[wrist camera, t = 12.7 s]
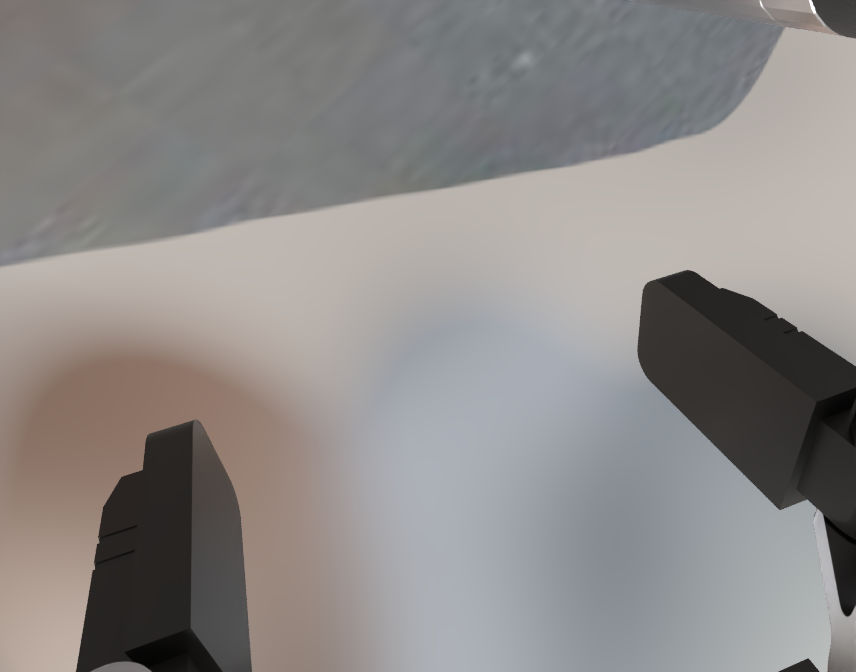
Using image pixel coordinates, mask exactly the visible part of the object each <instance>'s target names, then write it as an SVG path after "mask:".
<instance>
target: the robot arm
mask: <svg viewBox="0 0 856 672" xmlns="http://www.w3.org/2000/svg"><path fill="white" fill-rule="evenodd" d="M628 1H634V2H640V3H646V4H652V5H658V6H662V7H668V8H674V9H680V10H686V11H692V12H698V13H704V14H711V15H717V16H723V17H729V18H735V19H741V20H747V21H753V22H759V23H765V24H772V25H778V26H784V27H790V28H796V29H804V30H811V31H816V32H823V33H828V34H834V35H840V36H846V37H851V38H856V0H628ZM638 358H639V362H640V365H641V367H642V369H643V372H644V373H645V375H646V376H647V378H648V379H649V380H650V381H651V382H652V383H653V384H654V385H655V386H656V387H657V388H658V389H659V390H660V391H661V392H662V393H663V394H664V395H665V396H666V397H667V398H668V399H669V400H670V401H671V402H672V403H673V404H674V405H675V406H676V407H677V408H678V409H679V410H680V411H681V412H682V413H683V414H684V415H685V416H686V417H687V418H688V419H689V420H690V421H691V422H692V423H693V424H694V425H695V426H696V427H697V428H698V429H699V430H700V431H701V432H702V433H703V434H704V435H705V436H706V437H707V438H708V439H709V440H710V441H711V442H712V443H713V444H714V445H715V446H716V447H717V448H718V449H719V450H720V451H721V452H722V453H723V454H724V455H725V456H726V457H727V458H728V459H729V460H730V461H731V462H732V463H733V464H734V465H735V466H736V467H737V468H738V469H739V470H740V471H741V472H742V473H743V474H744V475H745V476H746V477H747V478H748V479H749V480H750V481H751V482H752V483H753V484H754V485H755V486H756V487H757V488H758V489H759V490H760V491H761V492H762V493H763V494H764V495H765V496H766V497H767V498H768V499H769V500H770V501H771V502H772V503H773V504H774V505H775V506H776V507H777V508H778V509H779V510H781V509H784V508H787V507H789V506H791V505H794V504H796V503H799V502H802V501H804V500H807V499H808V500H809V501H810V502H811V503H812V504H813V505H814V506H815V507H816V508H817V509H816V512H815V514H814V519H813V522H814V530H815V536H816V542H817V548H818V554H819V560H820V566H821V572H822V577H823V583H824V589H825V595H826V601H827V607H828V613H829V619H830V624H831V646H830V652H829V659H828V672H856V366H854V365H853V364H851V363H850V362H848V361H846V360H845V359H844V358H842V357H841V356H839V355H838V354H836V353H834V352H833V351H831V350H830V349H828V348H827V347H825V346H824V345H822V344H821V343H819V342H818V341H816V340H815V339H813V338H812V337H810V336H809V335H807V334H806V333H804V332H803V331H801V332H798V330H797V327H795V326H793V325H792V324H791V323H789V322H788V321H786V320H785V319H783V318H780V319H779V318H778V317H777V314H776V313H774V312H773V311H771V310H770V309H768V308H767V307H765V306H764V305H762V304H760V303H759V302H758V301H756V300H754V299H753V298H750V297H747V296H744V295H741V294H738V293H736V292H733V291H730V290H727V289H724V288H721V289H719V288H717V287H716V286H714V285H713V284H711V283H710V282H709V281H707V280H706V279H704V278H703V277H701V276H700V275H698V274H697V273H695V272H693V271H690V270H686V271H682V272H679V273H675V274H672V275H669V276H666V277H662V278H659V279H656V280H653V281H650V282H648V283H647V284H646V285H645V287H644V289H643V295H642V305H641V315H640V327H639V338H638ZM98 538H99V544H97V548H96V554H95V561H94V564H95V570H93V572H92V578H91V585H90V591H89V597H88V603H87V609H86V615H85V621H84V628H83V634H82V639H81V646H80V652H79V657H78V663H77V670H76V672H252V667H251V654H250V641H249V626H248V612H247V598H246V585H245V571H244V557H243V543H242V529H241V517H240V510H239V505H238V501H237V497H236V494H235V491H234V488H233V485H232V483H231V481H230V479H229V476H228V475H227V473H226V471H225V469H224V467H223V465H222V463H221V461H220V459H219V457H218V455H217V453H216V451H215V449H214V447H213V445H212V443H211V441H210V439H209V437H208V435H207V433H206V431H205V429H204V427H203V426H202V424H201V423H200V422H199V421H198V420H193V421H190V422H187V423H184V424H180V425H177V426H173V427H170V428H167V429H164V430H161V431H157V432H154V433H151V434H149V435H148V436H147V439H146V444H145V454H144V464H143V470H142V471H139V472H136V473H132V474H129V475H126V476H123V477H121V479H120V480H119V482H118V484H117V485H116V487H115V489H114V490H113V492H112V494H111V495H110V497H109V499H108V500H107V502H106V504H105V505H104V507H103V512H102V518H101V524H100V530H99V536H98ZM779 672H819V671H818V669H817V668H816V667H815V666H814V664H813V663H812V662H811V661H810V660H809V659H806V660H804V661H801V662H799V663H797V664H795V665H792V666H790V667H788V668H786V669H783V670H781V671H779Z"/></svg>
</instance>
